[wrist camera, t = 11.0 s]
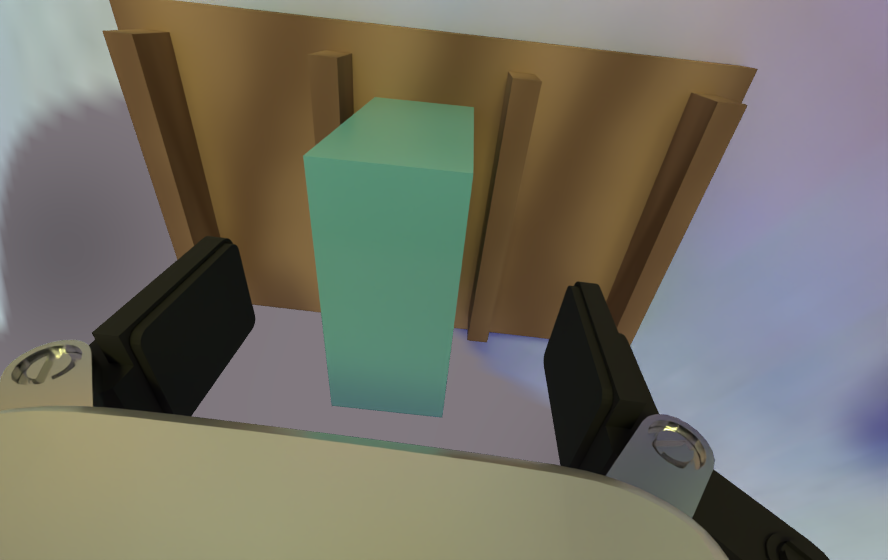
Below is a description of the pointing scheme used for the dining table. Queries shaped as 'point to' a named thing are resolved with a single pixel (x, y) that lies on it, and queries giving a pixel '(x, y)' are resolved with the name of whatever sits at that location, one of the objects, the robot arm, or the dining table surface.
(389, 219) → the block
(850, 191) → the dining table surface
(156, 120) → the rack
